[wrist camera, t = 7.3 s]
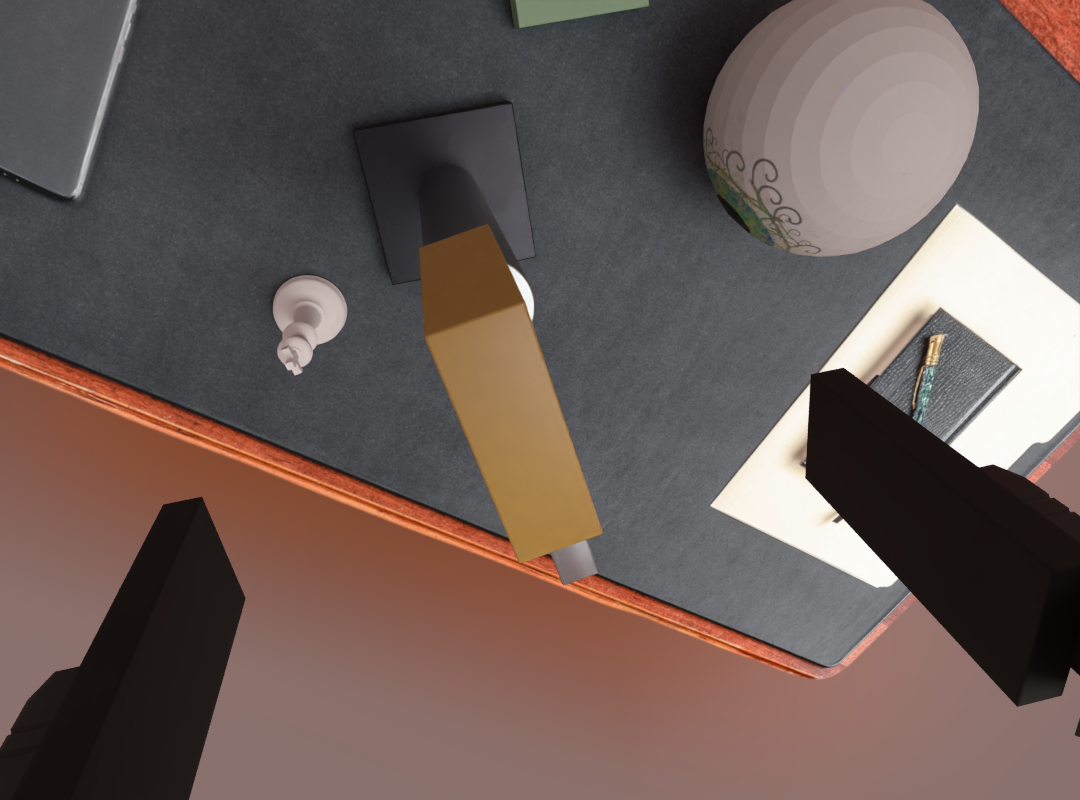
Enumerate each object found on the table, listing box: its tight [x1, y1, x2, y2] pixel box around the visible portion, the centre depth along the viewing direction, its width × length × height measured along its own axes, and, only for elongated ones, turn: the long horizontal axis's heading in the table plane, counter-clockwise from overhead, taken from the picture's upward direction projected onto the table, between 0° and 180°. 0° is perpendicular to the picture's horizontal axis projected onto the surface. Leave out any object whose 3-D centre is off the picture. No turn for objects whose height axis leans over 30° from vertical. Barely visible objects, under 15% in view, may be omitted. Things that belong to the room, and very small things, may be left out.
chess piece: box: [273, 275, 347, 375], centre depth 45 cm, size 5×5×10 cm
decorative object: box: [703, 0, 979, 257], centre depth 43 cm, size 15×15×15 cm
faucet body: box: [353, 101, 536, 323], centre depth 37 cm, size 10×10×24 cm
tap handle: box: [419, 224, 602, 585], centre depth 24 cm, size 16×2×10 cm, turn 17°
